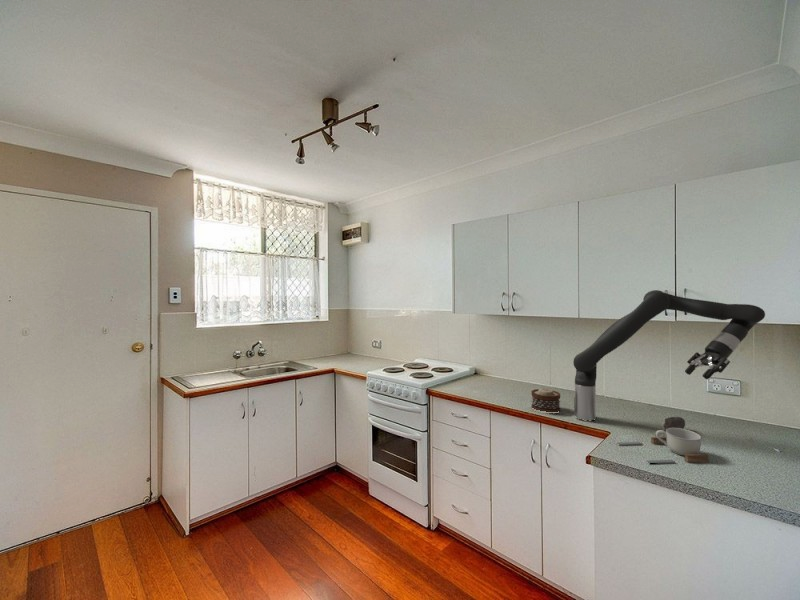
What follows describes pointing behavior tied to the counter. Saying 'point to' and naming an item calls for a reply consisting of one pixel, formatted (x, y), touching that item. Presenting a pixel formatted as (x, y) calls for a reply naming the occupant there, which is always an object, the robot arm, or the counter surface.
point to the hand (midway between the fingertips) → (695, 375)
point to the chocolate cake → (545, 400)
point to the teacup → (681, 440)
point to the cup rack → (687, 456)
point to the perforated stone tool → (674, 423)
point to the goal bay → (651, 460)
